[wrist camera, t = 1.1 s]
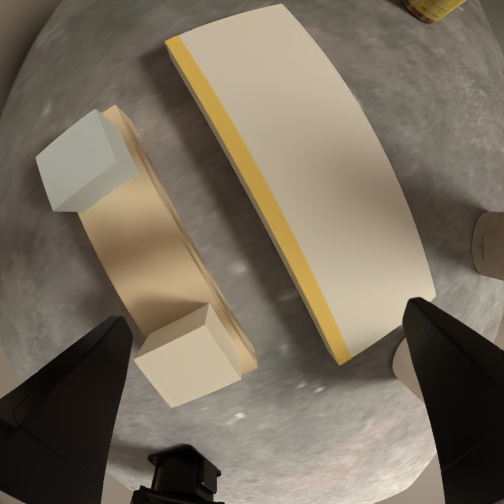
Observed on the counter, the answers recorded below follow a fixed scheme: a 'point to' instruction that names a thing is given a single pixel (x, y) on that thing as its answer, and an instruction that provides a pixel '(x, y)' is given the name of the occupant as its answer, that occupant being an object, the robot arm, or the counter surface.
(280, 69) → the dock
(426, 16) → the sauce bottle
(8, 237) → the counter surface
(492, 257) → the thermos bottle
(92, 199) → the light grey block
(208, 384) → the cream block
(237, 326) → the tan wooden block
